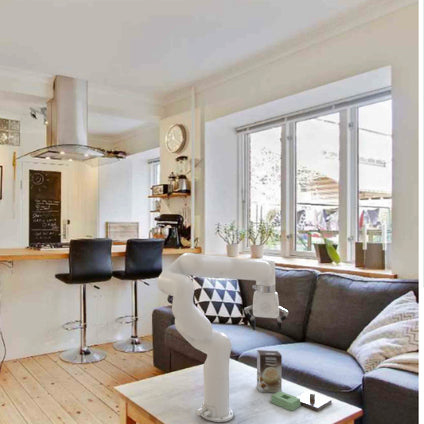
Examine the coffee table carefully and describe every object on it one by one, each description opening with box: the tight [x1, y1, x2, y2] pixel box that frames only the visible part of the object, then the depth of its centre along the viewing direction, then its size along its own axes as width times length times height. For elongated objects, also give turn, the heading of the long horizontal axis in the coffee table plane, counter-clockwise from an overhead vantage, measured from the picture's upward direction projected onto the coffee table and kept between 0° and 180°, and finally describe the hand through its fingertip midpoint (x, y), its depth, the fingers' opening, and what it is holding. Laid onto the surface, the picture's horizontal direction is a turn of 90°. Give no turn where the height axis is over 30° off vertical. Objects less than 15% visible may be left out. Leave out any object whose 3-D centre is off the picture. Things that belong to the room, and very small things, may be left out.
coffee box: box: [256, 349, 283, 394], centre depth 182 cm, size 9×6×16 cm
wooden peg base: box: [296, 391, 332, 412], centre depth 169 cm, size 11×10×4 cm
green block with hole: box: [270, 391, 302, 411], centre depth 168 cm, size 6×9×3 cm
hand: (266, 330), depth 172 cm, fingers open, 9 cm apart
